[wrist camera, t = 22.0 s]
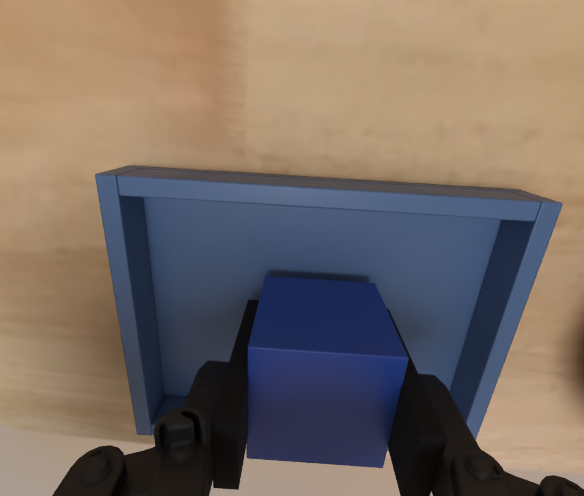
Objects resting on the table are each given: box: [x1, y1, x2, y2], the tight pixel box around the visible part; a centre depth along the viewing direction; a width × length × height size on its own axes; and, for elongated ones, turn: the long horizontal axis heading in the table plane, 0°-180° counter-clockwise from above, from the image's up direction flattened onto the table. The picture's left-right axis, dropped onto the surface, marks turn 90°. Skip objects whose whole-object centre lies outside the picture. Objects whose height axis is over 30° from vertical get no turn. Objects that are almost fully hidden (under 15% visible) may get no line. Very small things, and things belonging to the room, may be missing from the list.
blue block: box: [247, 276, 409, 468], centre depth 13 cm, size 5×5×5 cm
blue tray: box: [95, 166, 562, 451], centre depth 16 cm, size 18×14×3 cm
